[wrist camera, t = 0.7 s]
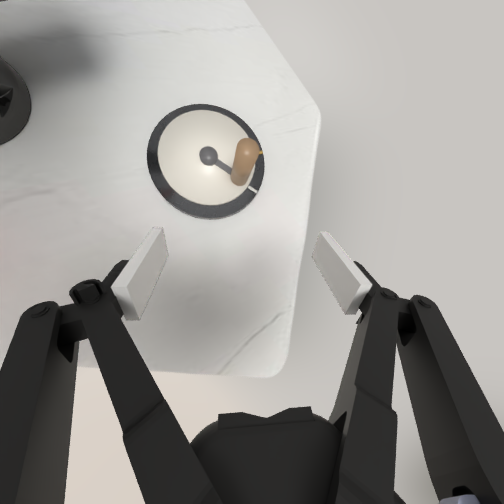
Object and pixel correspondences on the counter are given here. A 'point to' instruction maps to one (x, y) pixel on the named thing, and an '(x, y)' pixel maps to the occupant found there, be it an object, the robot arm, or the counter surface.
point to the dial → (207, 157)
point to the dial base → (183, 203)
